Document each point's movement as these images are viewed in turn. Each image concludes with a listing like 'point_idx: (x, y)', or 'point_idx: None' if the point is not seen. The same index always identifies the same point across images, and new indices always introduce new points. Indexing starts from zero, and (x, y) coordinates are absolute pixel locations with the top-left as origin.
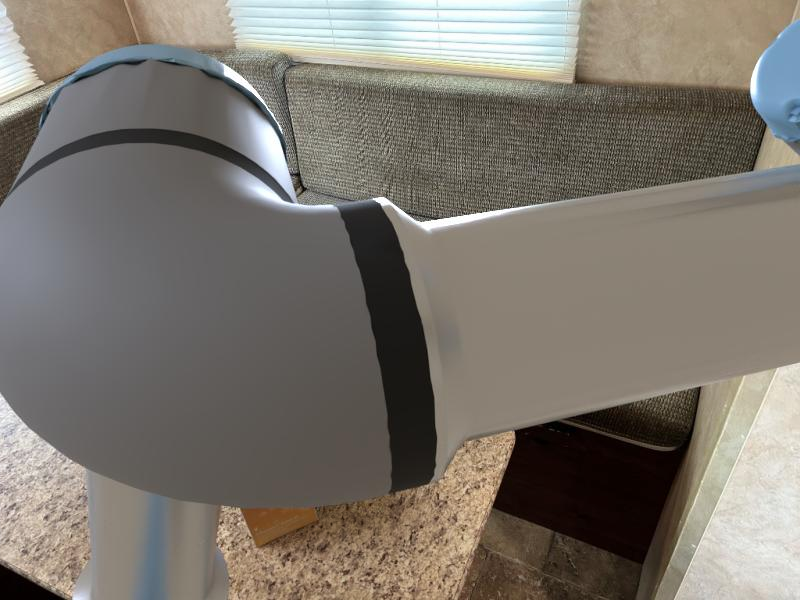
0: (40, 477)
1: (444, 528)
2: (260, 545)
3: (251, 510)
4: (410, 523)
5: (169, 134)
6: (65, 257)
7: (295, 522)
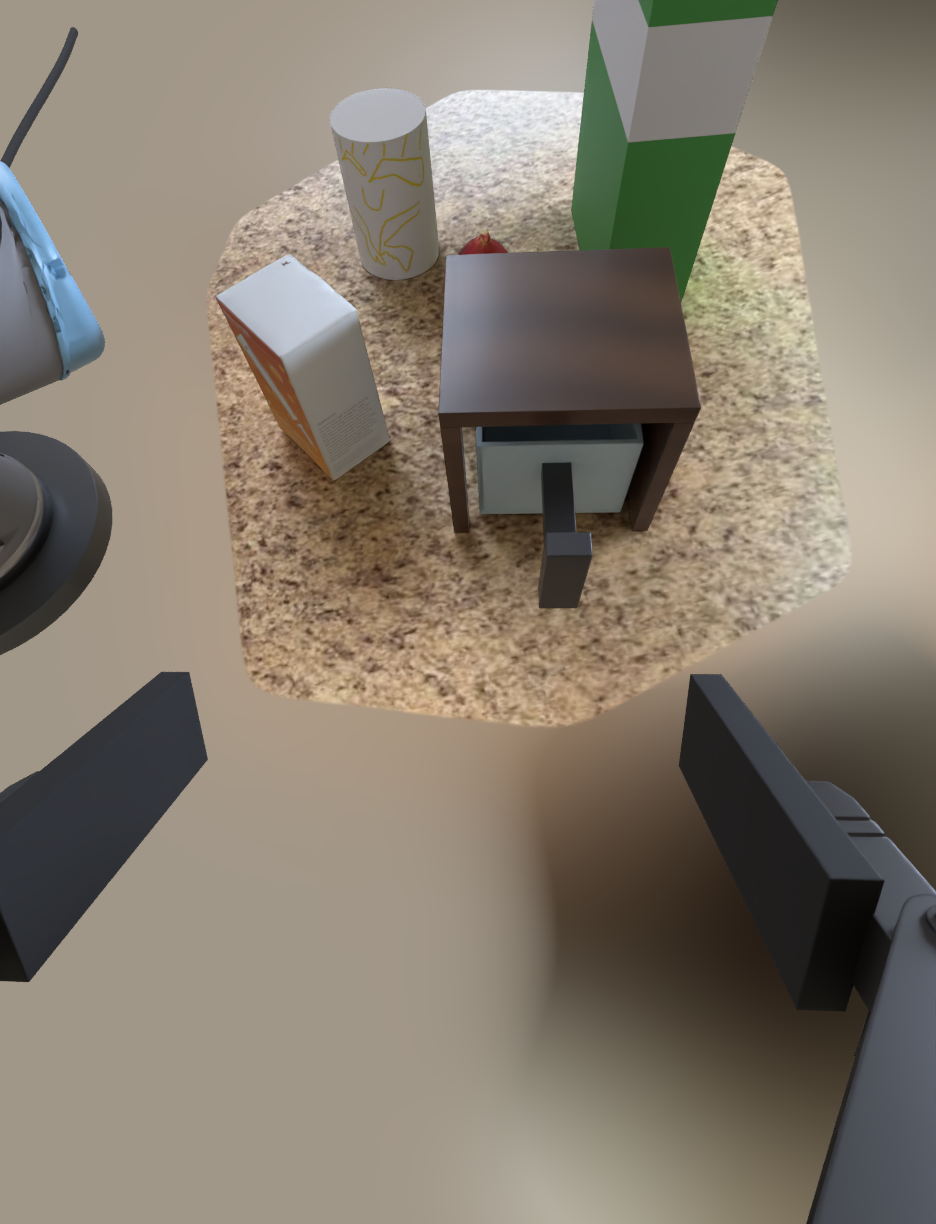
0: (338, 188)
1: (352, 656)
2: (282, 429)
3: (253, 367)
4: (352, 604)
5: None
6: None
7: (309, 450)
